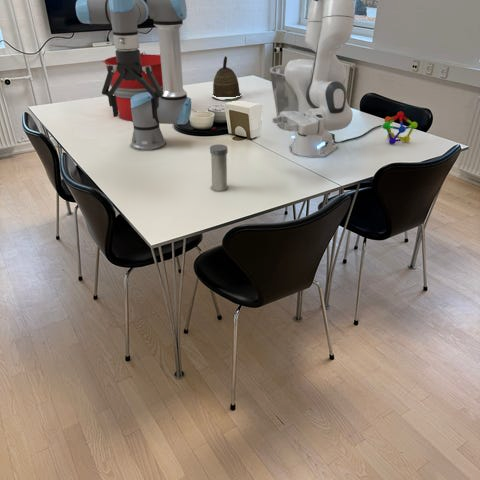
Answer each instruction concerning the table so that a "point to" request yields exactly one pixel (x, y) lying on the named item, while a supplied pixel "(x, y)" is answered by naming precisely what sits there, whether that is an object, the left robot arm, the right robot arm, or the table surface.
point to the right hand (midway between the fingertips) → (278, 124)
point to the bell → (225, 82)
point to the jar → (219, 172)
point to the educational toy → (398, 128)
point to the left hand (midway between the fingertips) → (135, 116)
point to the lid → (218, 150)
